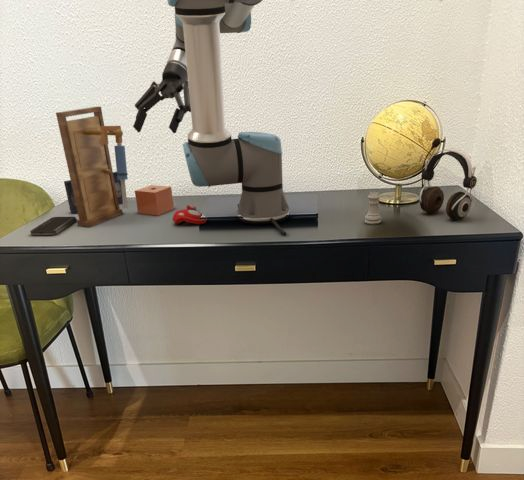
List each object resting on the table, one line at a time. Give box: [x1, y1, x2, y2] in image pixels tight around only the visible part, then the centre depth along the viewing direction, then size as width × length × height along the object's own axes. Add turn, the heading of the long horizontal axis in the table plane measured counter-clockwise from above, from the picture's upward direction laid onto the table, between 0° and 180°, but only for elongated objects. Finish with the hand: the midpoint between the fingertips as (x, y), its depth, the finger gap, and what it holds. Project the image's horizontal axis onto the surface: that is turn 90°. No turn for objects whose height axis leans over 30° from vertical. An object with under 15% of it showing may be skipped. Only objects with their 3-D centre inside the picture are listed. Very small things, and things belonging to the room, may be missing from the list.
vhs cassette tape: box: [63, 171, 123, 214], centre depth 174 cm, size 18×3×10 cm, turn 128°
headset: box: [419, 137, 478, 221], centre depth 144 cm, size 17×8×20 cm, turn 34°
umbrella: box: [100, 125, 128, 209], centre depth 150 cm, size 8×3×22 cm, turn 151°
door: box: [55, 106, 124, 228], centre depth 153 cm, size 15×16×31 cm
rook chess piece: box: [364, 191, 382, 226], centre depth 145 cm, size 4×4×8 cm
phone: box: [30, 216, 77, 236], centre depth 157 cm, size 8×1×15 cm
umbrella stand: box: [134, 184, 175, 216], centre depth 167 cm, size 8×8×7 cm
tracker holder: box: [172, 203, 208, 225], centre depth 156 cm, size 12×4×10 cm
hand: (153, 129), depth 160 cm, fingers open, 13 cm apart
